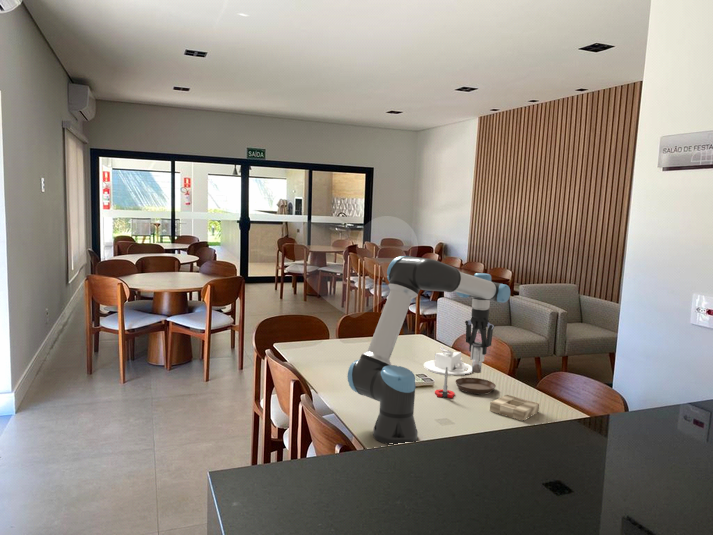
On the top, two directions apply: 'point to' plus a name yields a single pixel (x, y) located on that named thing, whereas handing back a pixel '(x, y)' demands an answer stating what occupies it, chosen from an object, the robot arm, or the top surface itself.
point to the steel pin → (476, 357)
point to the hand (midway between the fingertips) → (477, 360)
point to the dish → (448, 363)
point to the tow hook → (445, 389)
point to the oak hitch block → (514, 407)
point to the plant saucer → (475, 385)
